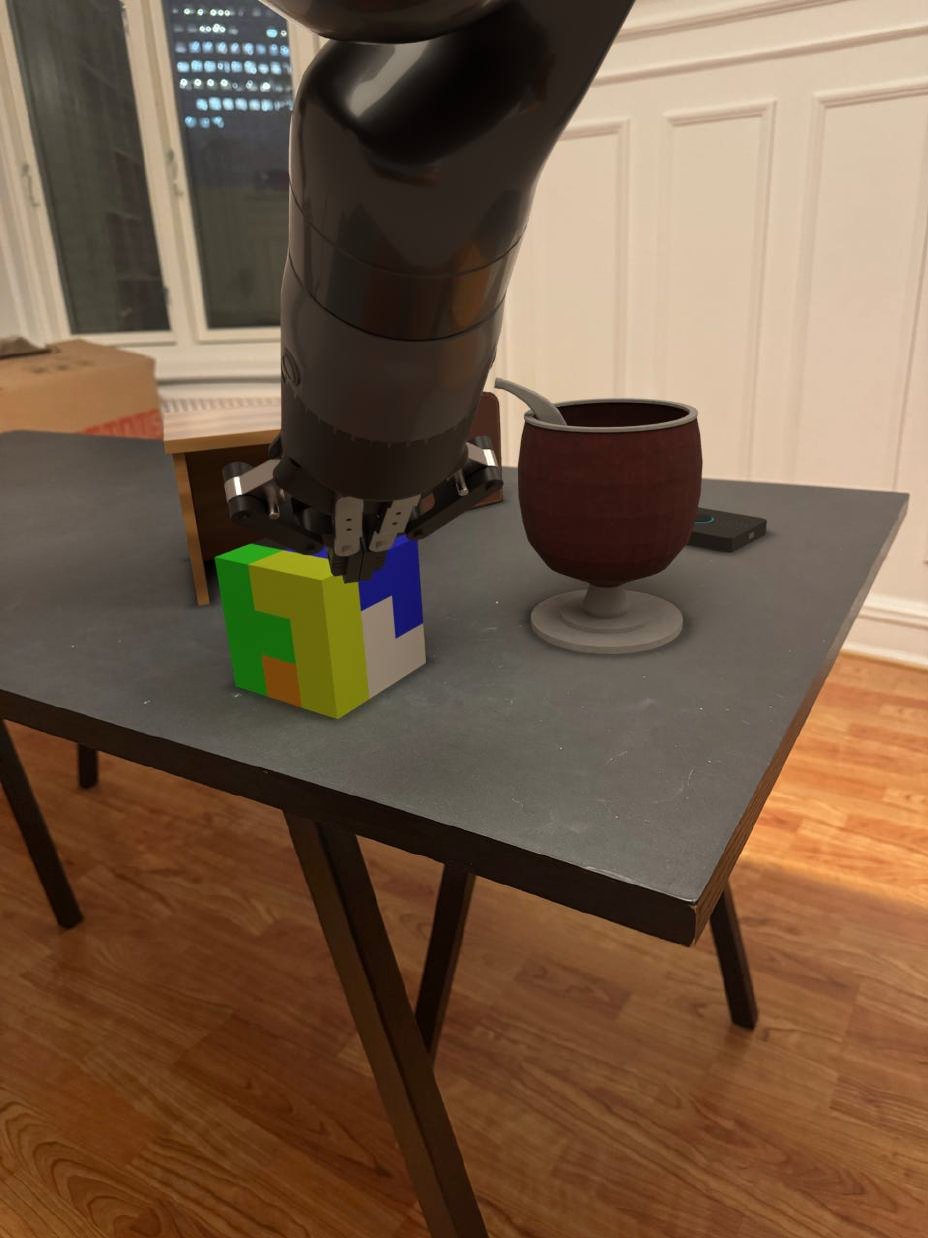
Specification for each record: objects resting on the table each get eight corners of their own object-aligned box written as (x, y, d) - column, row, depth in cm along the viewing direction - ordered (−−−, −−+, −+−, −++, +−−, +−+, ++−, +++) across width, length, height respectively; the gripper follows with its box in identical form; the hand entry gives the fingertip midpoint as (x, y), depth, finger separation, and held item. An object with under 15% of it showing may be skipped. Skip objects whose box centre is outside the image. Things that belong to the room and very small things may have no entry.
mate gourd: (672, 589, 79) (683, 356, 71) (712, 655, 66) (731, 380, 59) (498, 596, 79) (491, 365, 72) (505, 663, 67) (497, 391, 59)
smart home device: (731, 537, 86) (566, 506, 99) (730, 554, 87) (566, 521, 100) (770, 517, 92) (608, 490, 105) (768, 533, 92) (608, 504, 105)
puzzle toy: (426, 663, 67) (417, 536, 63) (337, 719, 60) (321, 580, 56) (328, 637, 73) (314, 519, 69) (235, 686, 65) (214, 557, 61)
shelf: (397, 578, 85) (384, 418, 79) (193, 608, 80) (163, 440, 74) (365, 535, 98) (352, 395, 92) (188, 559, 93) (162, 413, 87)
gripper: (529, 261, 35) (454, 492, 51) (183, 280, 32) (216, 521, 47) (585, 418, 32) (487, 611, 48) (213, 457, 29) (238, 651, 45)
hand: (353, 566), depth 48 cm, fingers closed
